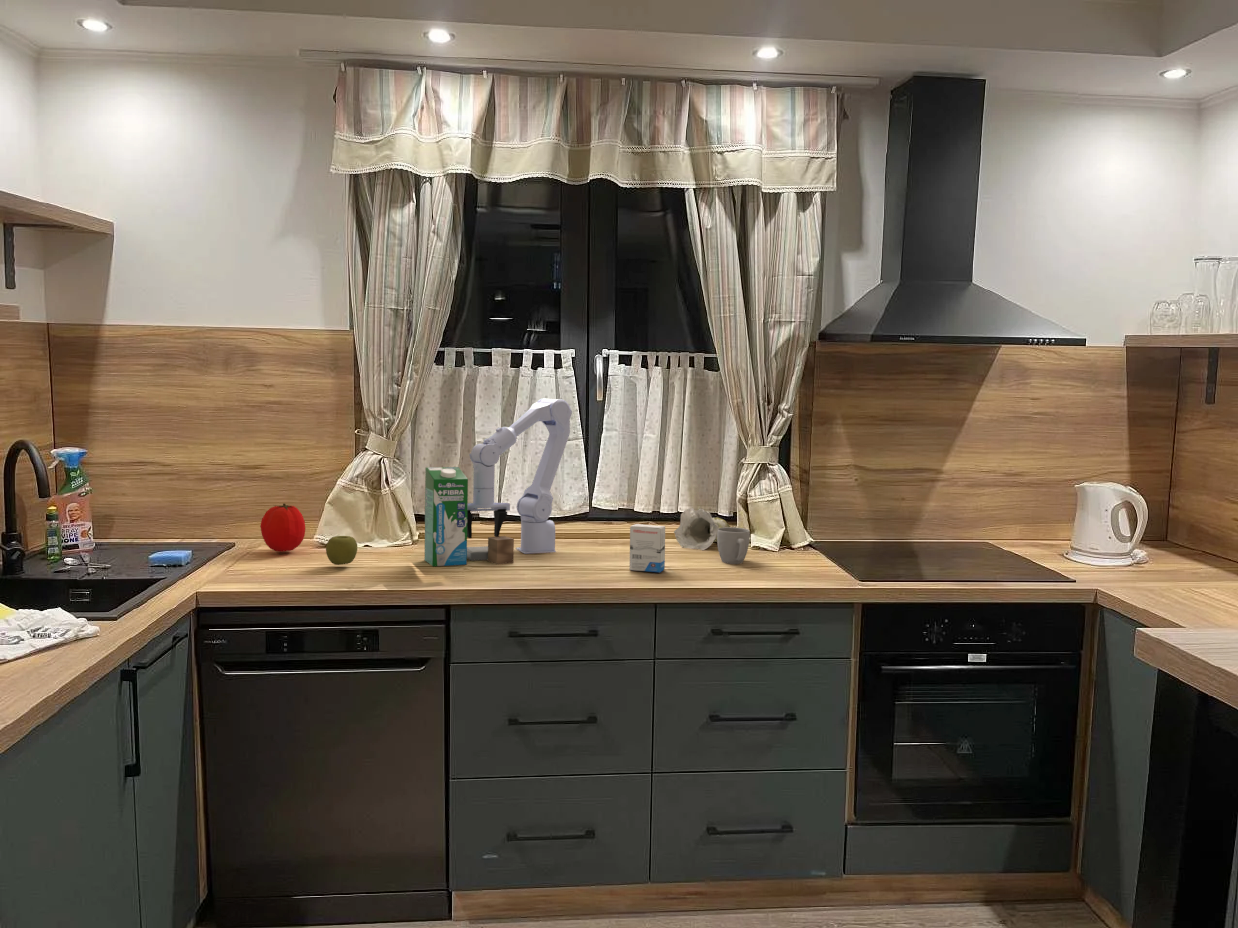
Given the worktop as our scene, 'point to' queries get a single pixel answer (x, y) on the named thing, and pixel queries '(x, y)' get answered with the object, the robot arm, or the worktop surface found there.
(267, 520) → the tomato
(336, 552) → the apple
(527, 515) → the robot arm
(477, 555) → the coaster block
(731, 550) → the mug
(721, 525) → the wavy rim vase
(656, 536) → the ink box
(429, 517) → the milk carton
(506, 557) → the walnut block
